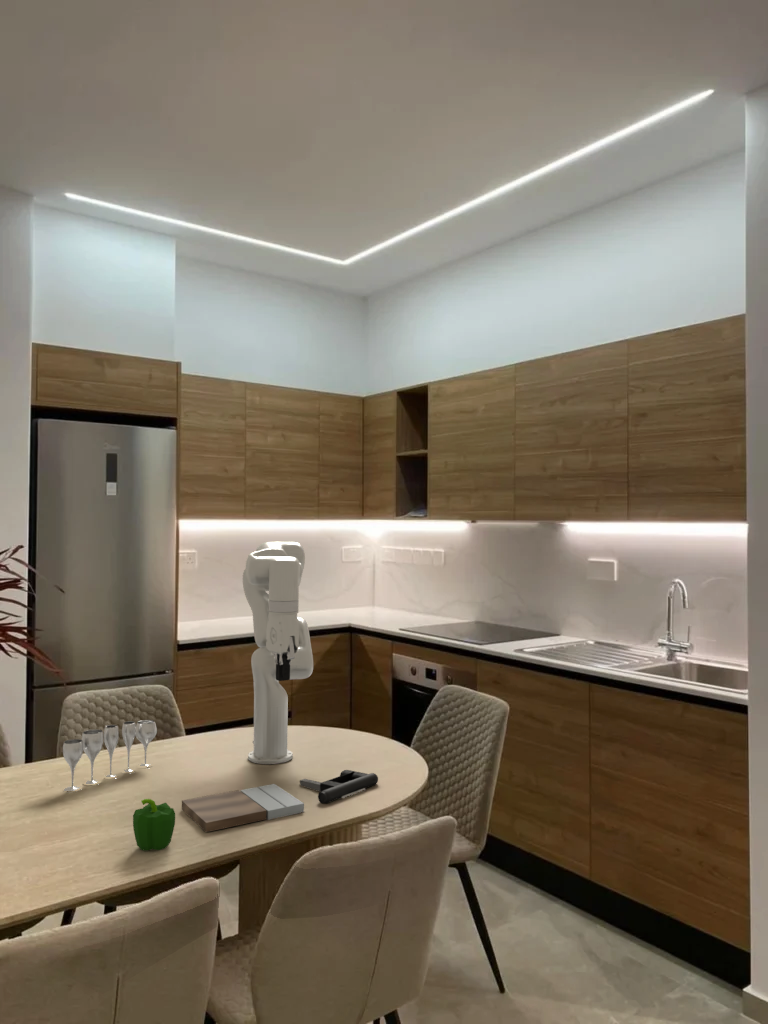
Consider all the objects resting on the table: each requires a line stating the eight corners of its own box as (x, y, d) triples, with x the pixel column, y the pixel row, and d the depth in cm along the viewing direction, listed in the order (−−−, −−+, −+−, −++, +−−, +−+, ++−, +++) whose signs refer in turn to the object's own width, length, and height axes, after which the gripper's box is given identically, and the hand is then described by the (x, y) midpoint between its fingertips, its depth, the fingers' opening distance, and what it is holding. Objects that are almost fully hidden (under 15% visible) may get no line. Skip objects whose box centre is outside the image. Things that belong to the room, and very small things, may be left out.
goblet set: (71, 794, 191) (72, 740, 191) (56, 790, 194) (57, 736, 194) (160, 765, 214) (161, 716, 214) (146, 761, 217) (147, 713, 217)
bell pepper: (177, 838, 164) (178, 790, 165) (171, 854, 156) (172, 804, 157) (136, 839, 163) (137, 791, 164) (128, 856, 155) (129, 805, 156)
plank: (181, 809, 180) (181, 800, 180) (238, 798, 188) (238, 789, 188) (206, 832, 167) (206, 822, 167) (266, 819, 175) (266, 810, 175)
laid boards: (240, 798, 188) (240, 789, 188) (274, 791, 193) (274, 783, 193) (268, 819, 175) (268, 810, 175) (303, 811, 180) (303, 802, 180)
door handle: (282, 782, 194) (329, 793, 184) (337, 764, 209) (383, 773, 199) (283, 796, 194) (329, 807, 184) (338, 777, 209) (384, 786, 199)
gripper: (257, 605, 202) (257, 676, 201) (283, 611, 189) (282, 686, 189) (284, 604, 206) (283, 673, 205) (310, 609, 193) (309, 683, 193)
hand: (282, 679), depth 197 cm, fingers closed
